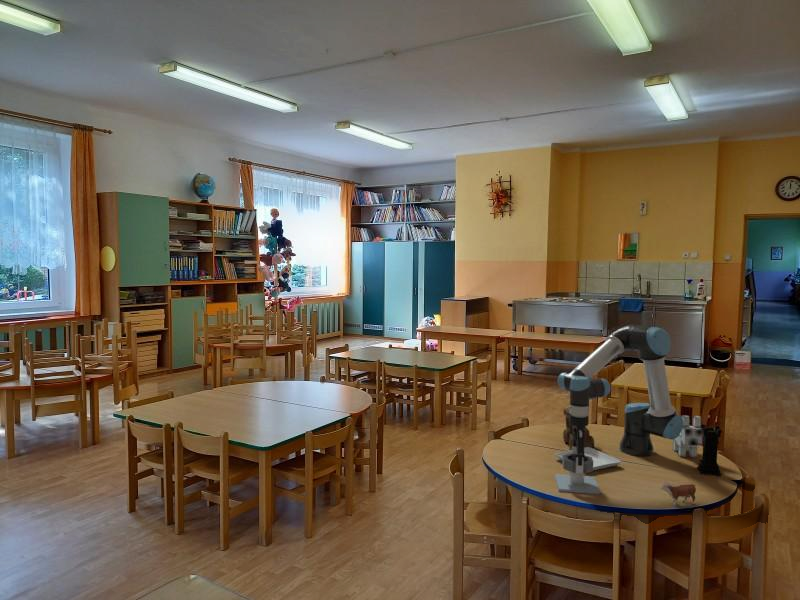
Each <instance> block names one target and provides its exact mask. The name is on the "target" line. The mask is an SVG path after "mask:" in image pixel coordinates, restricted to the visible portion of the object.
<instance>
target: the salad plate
mask: <svg viewBox="0 0 800 600" xmlns="http://www.w3.org/2000/svg"><path fill="white" fill-rule="evenodd" d="M569 453H572V450H571V449H570V450H565V451H559V452H555V453H554V456H555V457H556V458H557V459H558V460H561V461H562V460H563V455H566V454H569ZM584 455H586V456H589V457H592V459H593V471H598V470H601V469H607V468H610V467H616V466H617V465H619V464H621V463H622V461H621V460H620V459H618V458H615V457H613V456H612V455H610V454H607V453H605V452H602V451H599V450H597V449H595V448H594V449H593V448H590V447H585V448H584Z"/></svg>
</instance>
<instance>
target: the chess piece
mask: <svg viewBox="0 0 800 600" xmlns="http://www.w3.org/2000/svg"><path fill="white" fill-rule="evenodd" d="M700 428H701V432H702V459H699V463H698V466H697V467H696V468H697V470H698V473H699V474H700V475H707V476H713V475H714V476H716V477H722V474H721V469H720V466H719V464H718V447H719V446H718V445H719V444H720V442H719V438H721V435H722V434H723V430H722V429H721V427H720V425H714V427H706V424H704V423H701V425H700Z"/></svg>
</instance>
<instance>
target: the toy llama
mask: <svg viewBox="0 0 800 600" xmlns="http://www.w3.org/2000/svg"><path fill="white" fill-rule="evenodd" d="M681 417H682V418H683V428H682V431H681V433H680V434H679V436H678V437H677V438H675V439H672V451H673V452H675V453H676V452H677V453H678V454H677V455H678V457H680V458H686V456H687V453H688V455H689V456H688V457H690V458H693V459H694V458H695V459H696V458H698V447H699V446H702V447H703V439H702V437H703V433H702V432H701V427H700V425H701V424H702V417H701V416H700V415H693V417H692V425H690V416H689V415H684V414H682V415H681Z"/></svg>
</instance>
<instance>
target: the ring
mask: <svg viewBox="0 0 800 600" xmlns="http://www.w3.org/2000/svg"><path fill="white" fill-rule="evenodd" d="M575 455H577V454H574V453H569V454H566V455H563V460H561V461H562V462H561V463H562V468H563V470H564V471H565V470H566V471H568V472H569V473H570V472H573V473H576V457H575ZM591 472H594V470H593V459H592V457H589V456H586V455H585V457H584V458H583V473H584V474H588V473H591Z"/></svg>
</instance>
